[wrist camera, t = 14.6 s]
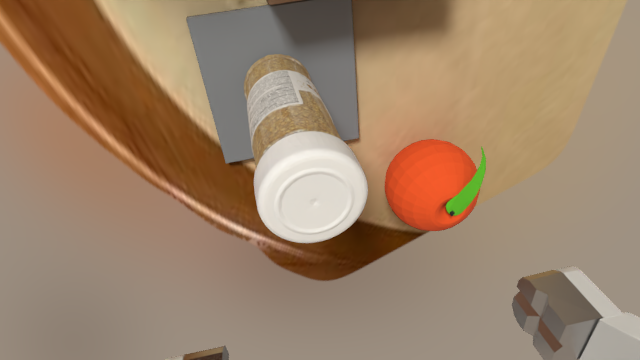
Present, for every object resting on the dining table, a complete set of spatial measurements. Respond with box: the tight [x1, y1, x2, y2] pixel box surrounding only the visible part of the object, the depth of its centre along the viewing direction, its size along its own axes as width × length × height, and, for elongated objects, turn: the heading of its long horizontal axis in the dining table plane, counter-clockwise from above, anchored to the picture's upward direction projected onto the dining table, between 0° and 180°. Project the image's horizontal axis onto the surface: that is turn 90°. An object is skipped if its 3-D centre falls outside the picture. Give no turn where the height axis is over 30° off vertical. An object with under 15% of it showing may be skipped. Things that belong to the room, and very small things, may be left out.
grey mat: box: [187, 0, 359, 163], centre depth 27 cm, size 10×10×1 cm
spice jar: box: [244, 54, 368, 243], centre depth 21 cm, size 5×5×13 cm
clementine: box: [385, 139, 486, 231], centre depth 30 cm, size 8×7×7 cm
